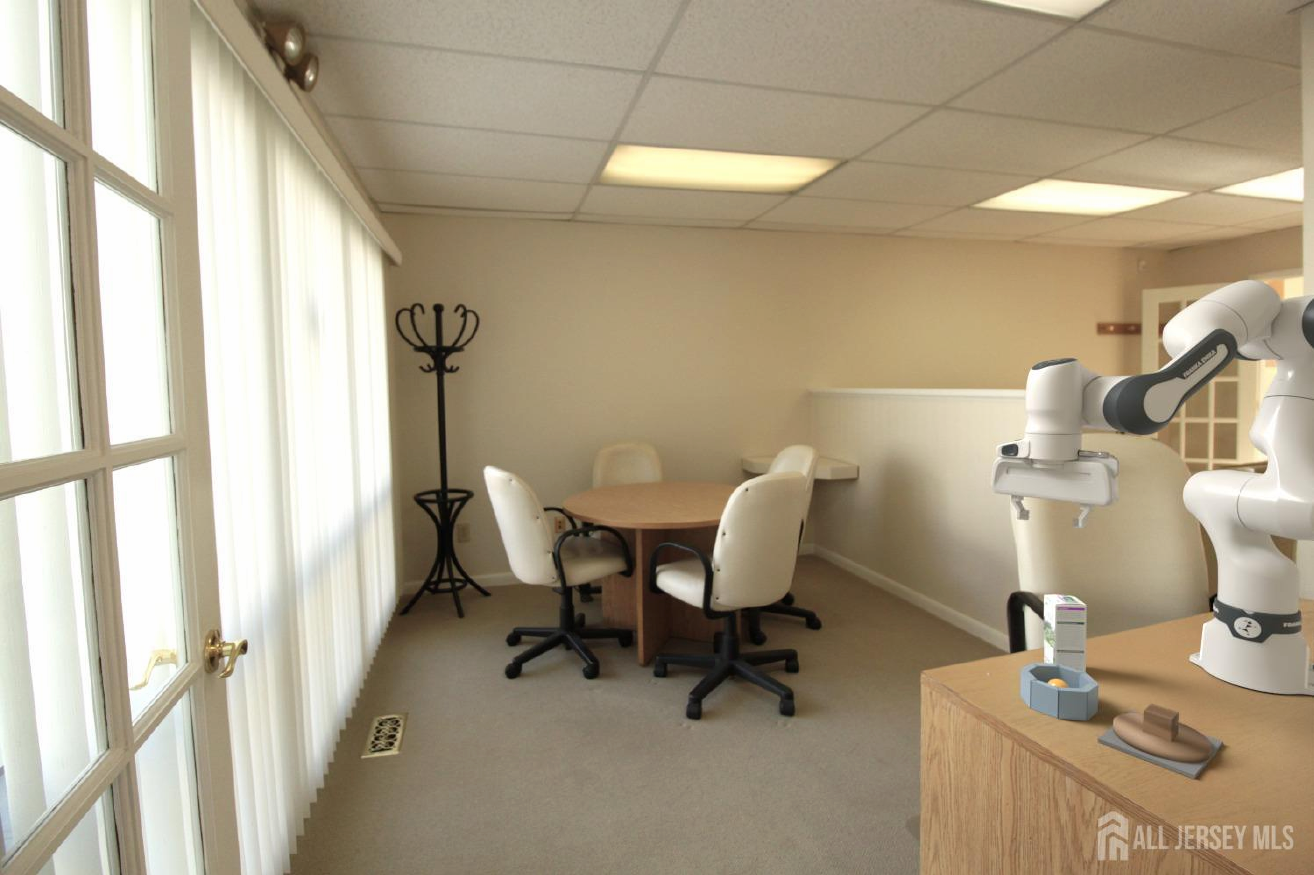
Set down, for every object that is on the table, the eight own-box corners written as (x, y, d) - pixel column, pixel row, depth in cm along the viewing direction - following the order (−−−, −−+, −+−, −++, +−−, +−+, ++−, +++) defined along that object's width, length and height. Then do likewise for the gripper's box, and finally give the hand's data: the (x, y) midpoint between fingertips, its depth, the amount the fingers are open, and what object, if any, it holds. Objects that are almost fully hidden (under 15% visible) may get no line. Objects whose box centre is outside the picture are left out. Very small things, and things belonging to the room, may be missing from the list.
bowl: (1039, 683, 119) (1039, 658, 118) (1105, 706, 110) (1106, 678, 110) (1011, 701, 113) (1011, 674, 112) (1079, 726, 104) (1080, 697, 103)
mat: (1131, 713, 108) (1131, 710, 107) (1222, 744, 98) (1223, 741, 98) (1097, 741, 99) (1097, 738, 99) (1194, 779, 90) (1194, 775, 90)
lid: (1128, 712, 107) (1129, 685, 106) (1221, 743, 97) (1222, 714, 97) (1100, 736, 100) (1101, 708, 100) (1197, 772, 90) (1198, 741, 90)
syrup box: (1087, 677, 121) (1089, 604, 120) (1053, 675, 122) (1055, 602, 121) (1073, 664, 126) (1075, 594, 125) (1041, 662, 127) (1043, 593, 126)
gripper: (1126, 451, 107) (1124, 530, 108) (1003, 444, 124) (1002, 513, 125) (1112, 454, 104) (1109, 536, 105) (987, 446, 120) (986, 517, 121)
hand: (1050, 523), depth 115 cm, fingers open, 8 cm apart
